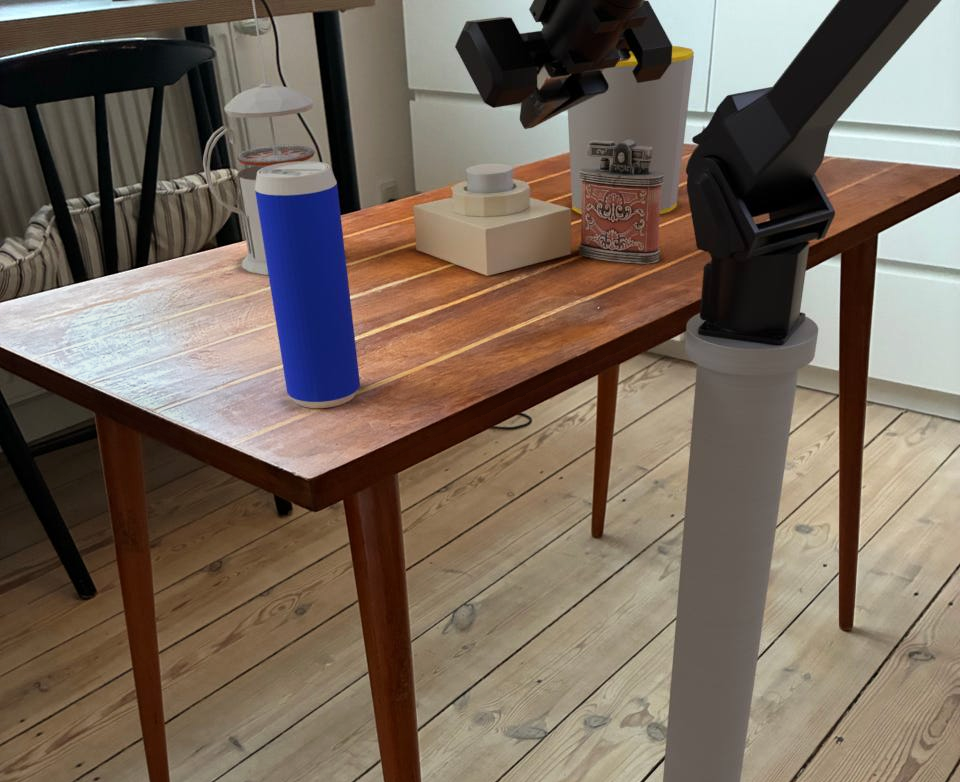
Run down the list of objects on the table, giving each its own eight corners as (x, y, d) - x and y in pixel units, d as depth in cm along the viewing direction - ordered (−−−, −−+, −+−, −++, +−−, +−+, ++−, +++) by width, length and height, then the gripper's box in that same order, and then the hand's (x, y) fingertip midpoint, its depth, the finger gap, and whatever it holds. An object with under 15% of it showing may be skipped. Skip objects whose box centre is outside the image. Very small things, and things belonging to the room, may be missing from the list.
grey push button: (522, 191, 98) (522, 168, 96) (485, 199, 96) (484, 176, 94) (495, 184, 100) (494, 161, 99) (457, 192, 98) (456, 168, 97)
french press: (354, 264, 100) (318, -47, 85) (234, 284, 96) (176, -37, 82) (326, 241, 107) (289, -49, 93) (214, 258, 104) (157, -40, 89)
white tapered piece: (576, 190, 120) (578, -26, 108) (690, 192, 117) (706, -31, 105) (552, 219, 110) (551, -16, 98) (676, 222, 107) (691, -20, 95)
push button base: (571, 254, 100) (571, 187, 96) (487, 276, 95) (484, 207, 91) (496, 230, 108) (494, 168, 104) (416, 250, 103) (411, 185, 100)
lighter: (665, 256, 98) (672, 140, 92) (649, 266, 95) (656, 147, 90) (589, 246, 101) (591, 134, 95) (572, 255, 99) (573, 141, 93)
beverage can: (372, 385, 75) (348, 161, 66) (342, 413, 71) (312, 179, 62) (308, 379, 76) (276, 159, 68) (275, 406, 72) (236, 177, 64)
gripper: (655, -121, 81) (565, 34, 95) (461, -111, 73) (393, 57, 87) (721, 0, 81) (621, 138, 95) (533, 24, 72) (453, 172, 86)
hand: (525, 124), depth 91 cm, fingers closed
